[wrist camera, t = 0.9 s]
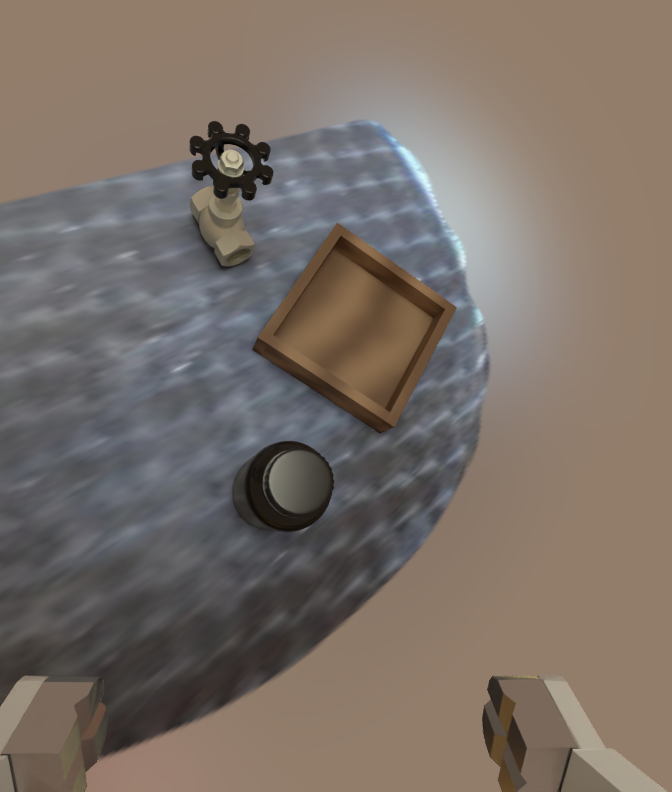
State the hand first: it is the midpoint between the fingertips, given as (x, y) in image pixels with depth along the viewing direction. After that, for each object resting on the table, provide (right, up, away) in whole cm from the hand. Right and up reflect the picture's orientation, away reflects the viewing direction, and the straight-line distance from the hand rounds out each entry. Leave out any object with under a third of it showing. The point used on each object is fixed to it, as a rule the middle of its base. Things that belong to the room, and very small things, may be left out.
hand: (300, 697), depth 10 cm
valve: (-11, +22, +39) cm, 46 cm away
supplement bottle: (-5, -2, +35) cm, 35 cm away
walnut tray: (+3, +13, +41) cm, 43 cm away
